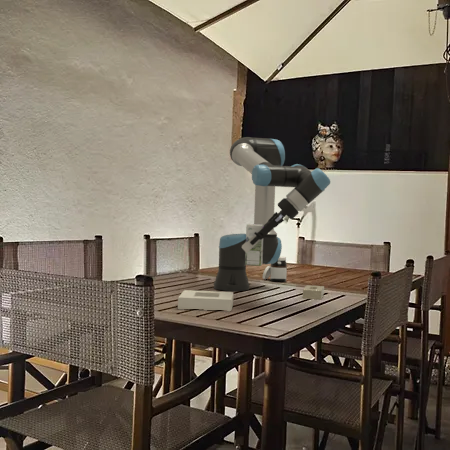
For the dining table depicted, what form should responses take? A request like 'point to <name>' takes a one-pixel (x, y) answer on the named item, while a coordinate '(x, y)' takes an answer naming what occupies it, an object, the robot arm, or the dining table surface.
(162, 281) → the dining table surface
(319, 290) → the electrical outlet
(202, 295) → the holder block
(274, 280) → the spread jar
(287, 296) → the dining table surface
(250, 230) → the syrup box
